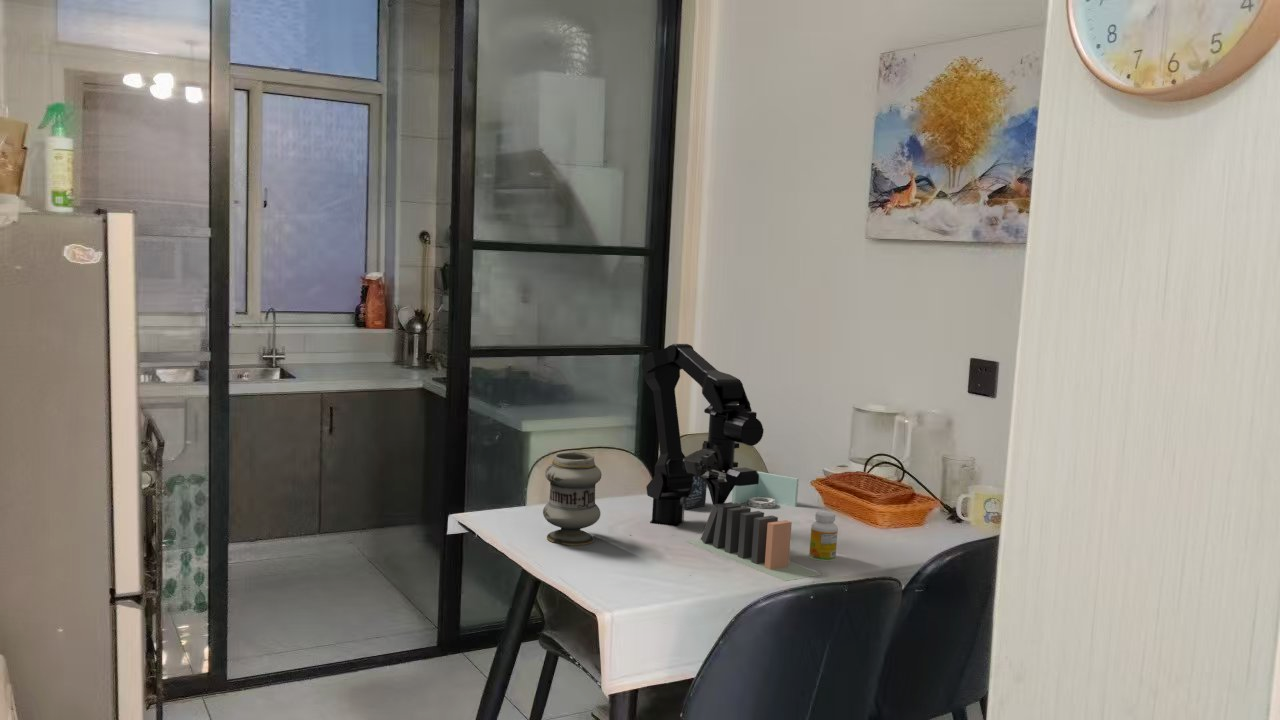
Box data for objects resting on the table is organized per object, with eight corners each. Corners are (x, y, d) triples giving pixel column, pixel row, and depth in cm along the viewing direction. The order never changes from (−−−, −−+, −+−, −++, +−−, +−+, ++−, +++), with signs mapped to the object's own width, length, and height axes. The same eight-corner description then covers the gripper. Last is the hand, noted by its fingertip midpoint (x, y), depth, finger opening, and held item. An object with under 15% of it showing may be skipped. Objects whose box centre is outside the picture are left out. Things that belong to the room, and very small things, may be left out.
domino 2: (712, 545, 220) (718, 505, 218) (730, 543, 223) (736, 502, 221) (717, 548, 219) (723, 507, 217) (735, 545, 222) (741, 505, 220)
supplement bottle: (806, 555, 220) (809, 509, 219) (831, 555, 220) (834, 510, 219) (812, 562, 215) (816, 516, 214) (838, 563, 215) (841, 517, 214)
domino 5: (751, 562, 211) (754, 518, 210) (769, 558, 214) (772, 515, 213) (756, 564, 209) (759, 519, 208) (774, 560, 212) (777, 517, 211)
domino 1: (700, 539, 223) (713, 504, 220) (718, 536, 226) (731, 502, 223) (704, 543, 222) (717, 508, 219) (722, 541, 225) (736, 506, 222)
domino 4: (737, 556, 214) (740, 513, 213) (755, 553, 217) (758, 510, 216) (742, 558, 213) (745, 515, 212) (761, 555, 215) (764, 512, 215)
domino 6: (764, 567, 207) (767, 522, 206) (782, 564, 210) (786, 520, 209) (770, 569, 206) (773, 524, 205) (788, 566, 209) (791, 522, 208)
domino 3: (724, 551, 217) (727, 508, 216) (742, 548, 220) (745, 506, 219) (729, 553, 216) (732, 510, 215) (747, 550, 219) (750, 508, 218)
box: (684, 510, 253) (686, 467, 252) (667, 505, 257) (670, 462, 256) (706, 506, 258) (708, 463, 257) (689, 501, 262) (692, 459, 261)
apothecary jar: (531, 541, 218) (535, 456, 216) (557, 528, 229) (561, 447, 228) (584, 550, 214) (589, 463, 212) (607, 537, 225) (612, 454, 223)
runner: (685, 543, 223) (685, 541, 223) (721, 538, 229) (721, 536, 229) (784, 583, 199) (785, 581, 199) (821, 576, 205) (822, 574, 205)
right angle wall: (731, 507, 261) (733, 477, 260) (754, 499, 271) (756, 471, 270) (774, 516, 254) (776, 485, 254) (796, 508, 264) (798, 478, 263)
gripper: (664, 432, 224) (660, 504, 225) (721, 447, 209) (717, 524, 210) (704, 429, 230) (700, 499, 232) (763, 444, 215) (758, 518, 217)
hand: (717, 510), depth 222 cm, fingers closed
